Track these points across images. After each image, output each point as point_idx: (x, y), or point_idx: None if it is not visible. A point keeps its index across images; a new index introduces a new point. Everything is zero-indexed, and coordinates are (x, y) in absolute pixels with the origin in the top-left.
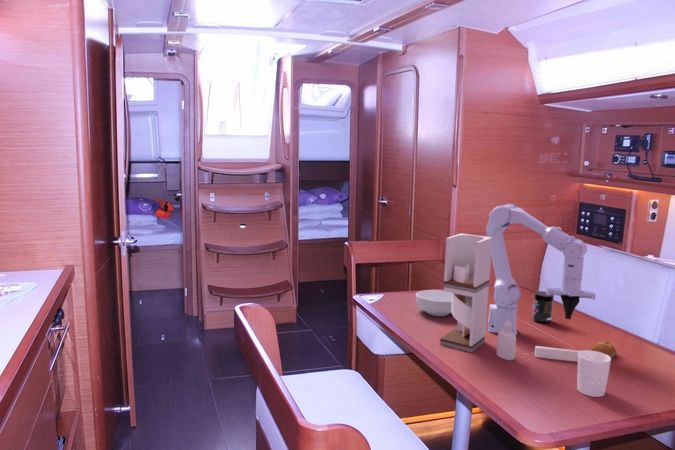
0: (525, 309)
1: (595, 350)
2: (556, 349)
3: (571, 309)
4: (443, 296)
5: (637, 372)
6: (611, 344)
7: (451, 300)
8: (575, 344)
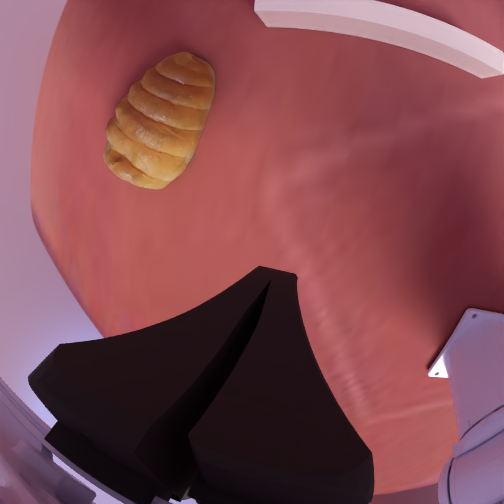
0: None
1: (184, 80)
2: (411, 15)
3: (221, 318)
4: None
5: (107, 9)
6: (106, 153)
7: None
8: (248, 229)
